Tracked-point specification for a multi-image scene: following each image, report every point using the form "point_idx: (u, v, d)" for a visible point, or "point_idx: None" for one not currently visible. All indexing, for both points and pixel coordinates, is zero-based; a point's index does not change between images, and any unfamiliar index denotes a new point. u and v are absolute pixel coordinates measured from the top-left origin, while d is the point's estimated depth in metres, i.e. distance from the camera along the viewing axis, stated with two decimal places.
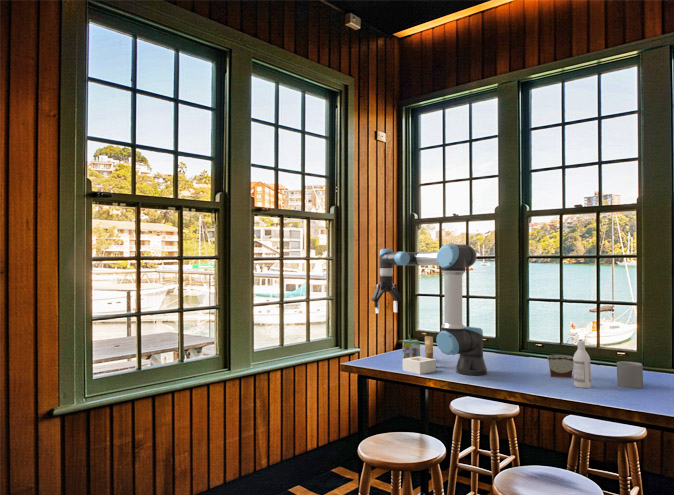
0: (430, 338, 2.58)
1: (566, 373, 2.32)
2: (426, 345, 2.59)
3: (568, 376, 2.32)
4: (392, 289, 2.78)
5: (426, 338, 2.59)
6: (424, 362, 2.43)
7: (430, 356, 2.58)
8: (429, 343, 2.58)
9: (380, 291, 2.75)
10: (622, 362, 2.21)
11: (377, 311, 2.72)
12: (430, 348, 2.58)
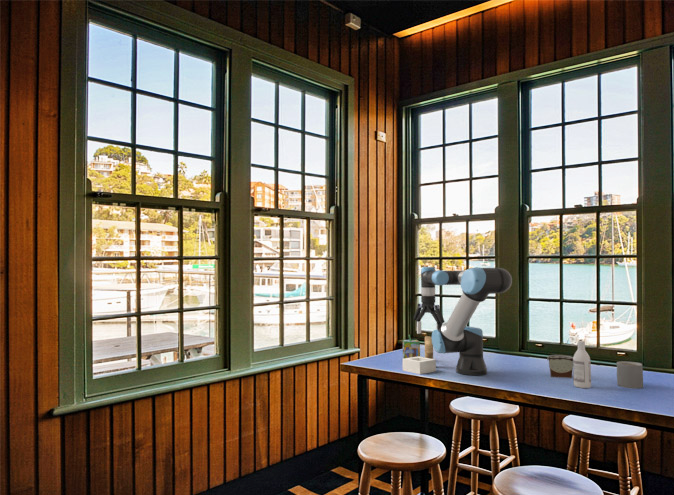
0: (430, 338, 2.58)
1: (566, 373, 2.32)
2: (426, 345, 2.59)
3: (568, 376, 2.32)
4: (430, 310, 2.58)
5: (426, 338, 2.59)
6: (424, 362, 2.43)
7: (430, 356, 2.58)
8: (429, 343, 2.58)
9: None
10: (622, 362, 2.21)
11: None
12: (430, 348, 2.58)
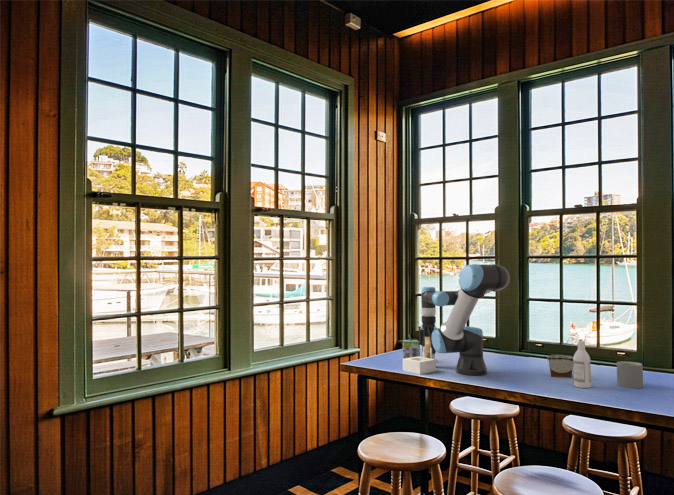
0: None
1: (566, 373, 2.32)
2: (426, 345, 2.59)
3: (568, 376, 2.32)
4: (429, 332, 2.58)
5: (426, 338, 2.59)
6: (424, 362, 2.43)
7: None
8: (429, 343, 2.58)
9: None
10: (622, 362, 2.21)
11: None
12: None
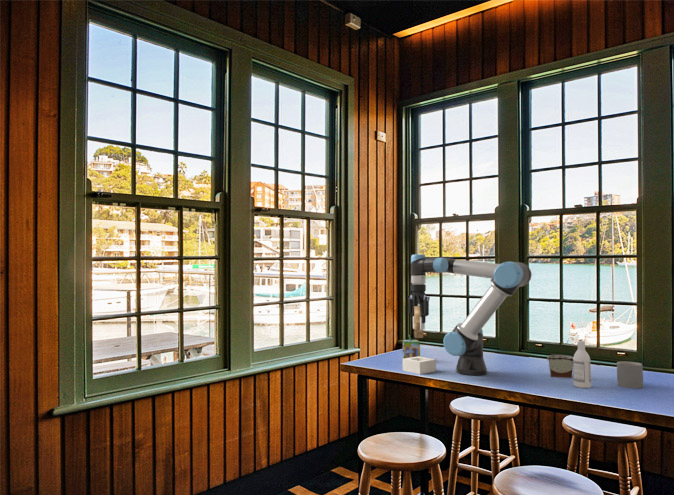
0: None
1: (566, 373, 2.32)
2: (416, 315, 2.49)
3: (568, 376, 2.32)
4: (419, 300, 2.48)
5: (416, 307, 2.49)
6: (424, 362, 2.43)
7: None
8: (419, 312, 2.49)
9: None
10: (622, 362, 2.21)
11: None
12: None
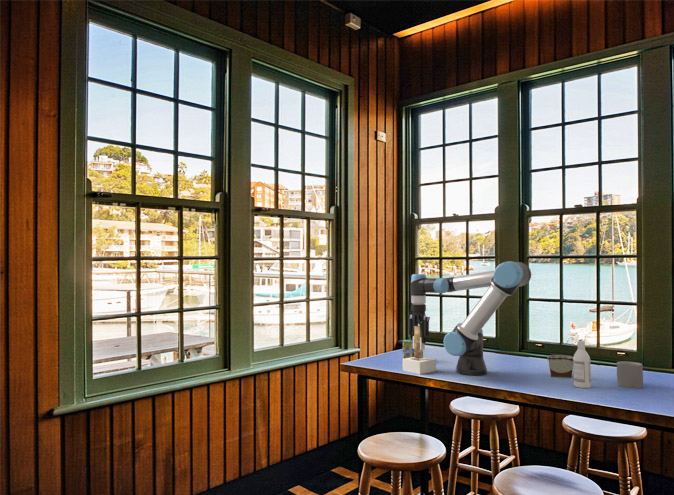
0: None
1: (566, 373, 2.32)
2: (416, 335, 2.49)
3: (568, 376, 2.32)
4: (419, 321, 2.48)
5: (416, 327, 2.49)
6: (424, 362, 2.43)
7: None
8: (419, 333, 2.48)
9: None
10: (622, 362, 2.21)
11: None
12: None
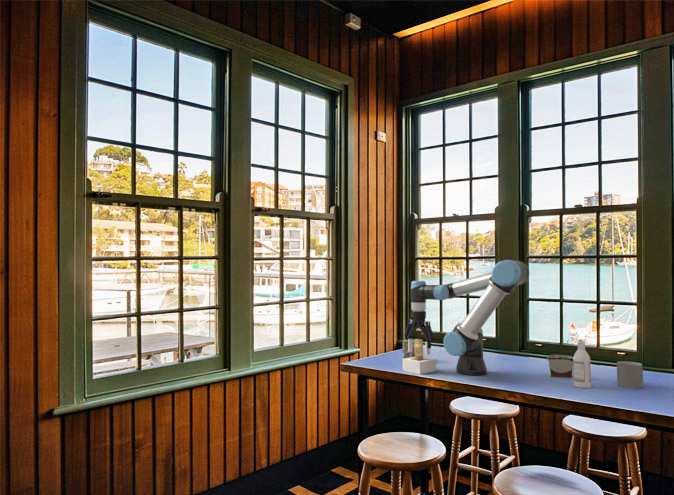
0: (420, 341, 2.48)
1: (566, 373, 2.32)
2: (416, 348, 2.48)
3: (568, 376, 2.32)
4: (420, 326, 2.47)
5: (416, 341, 2.49)
6: (424, 362, 2.43)
7: (420, 359, 2.47)
8: (419, 346, 2.48)
9: None
10: (622, 362, 2.21)
11: None
12: (420, 351, 2.48)
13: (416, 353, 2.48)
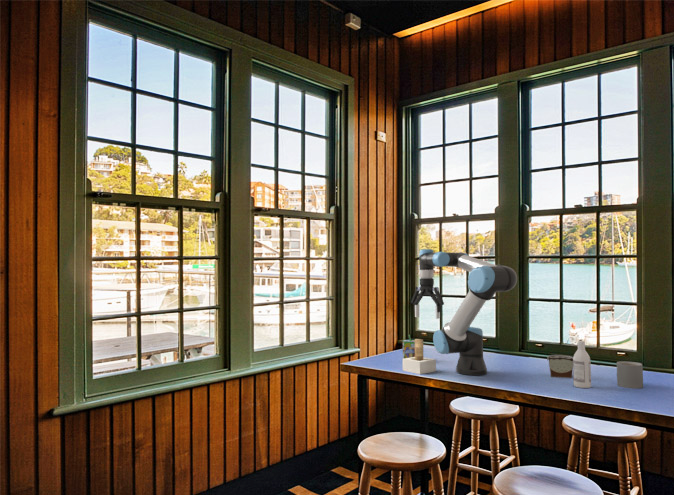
0: (420, 341, 2.48)
1: (566, 373, 2.32)
2: (416, 348, 2.48)
3: (568, 376, 2.32)
4: (429, 292, 2.55)
5: (416, 341, 2.49)
6: (424, 362, 2.43)
7: (420, 360, 2.47)
8: (419, 346, 2.48)
9: None
10: (622, 362, 2.21)
11: None
12: (420, 351, 2.48)
13: (416, 353, 2.48)
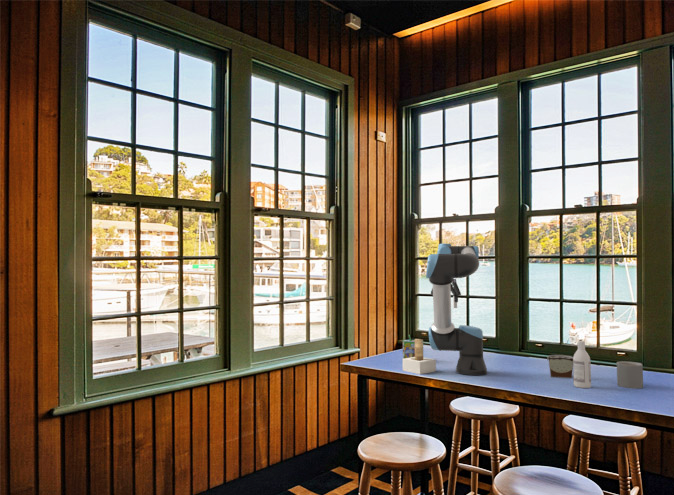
0: (420, 341, 2.48)
1: (566, 373, 2.32)
2: (416, 348, 2.48)
3: (568, 376, 2.32)
4: None
5: (416, 341, 2.48)
6: (424, 362, 2.43)
7: (420, 360, 2.47)
8: (419, 346, 2.48)
9: None
10: (622, 362, 2.21)
11: None
12: (420, 351, 2.48)
13: (416, 353, 2.48)
